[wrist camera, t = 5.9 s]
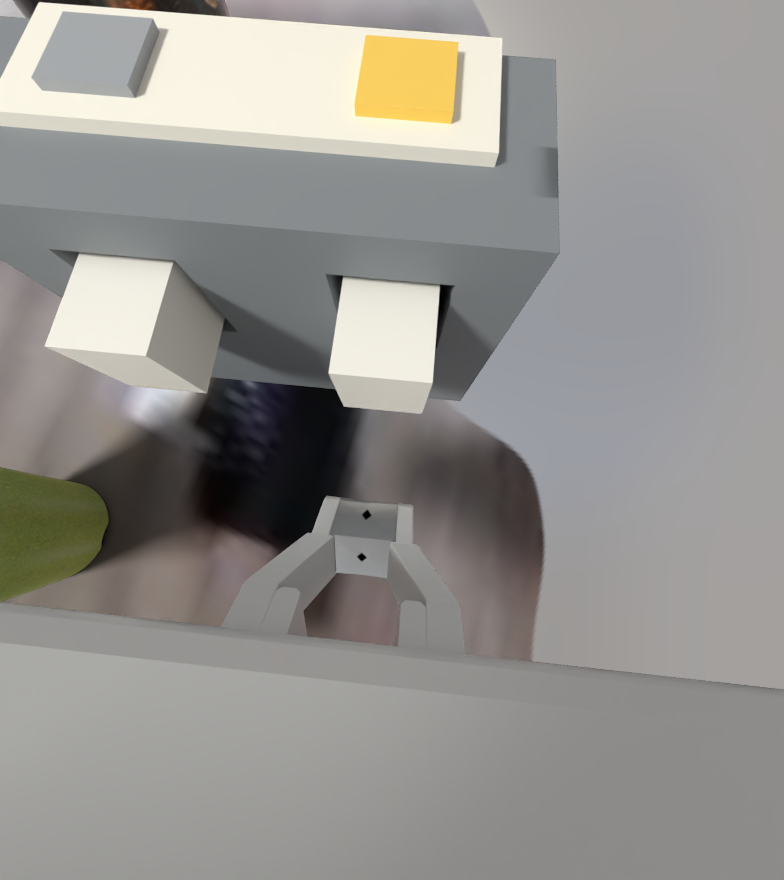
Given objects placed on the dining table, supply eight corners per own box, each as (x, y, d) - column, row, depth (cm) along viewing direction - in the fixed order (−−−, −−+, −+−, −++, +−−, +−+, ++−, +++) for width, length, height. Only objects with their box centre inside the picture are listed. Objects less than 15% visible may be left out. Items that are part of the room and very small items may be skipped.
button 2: (421, 414, 14) (432, 383, 10) (344, 406, 14) (328, 373, 10) (429, 317, 15) (441, 259, 11) (357, 310, 15) (347, 250, 12)
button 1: (206, 393, 14) (145, 356, 11) (130, 385, 14) (44, 346, 11) (229, 298, 15) (180, 236, 12) (158, 292, 15) (88, 228, 12)
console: (460, 401, 22) (573, 232, 8) (183, 374, 22) (-140, 170, 9) (465, 302, 23) (567, 28, 10) (208, 279, 24) (-30, -17, 10)
